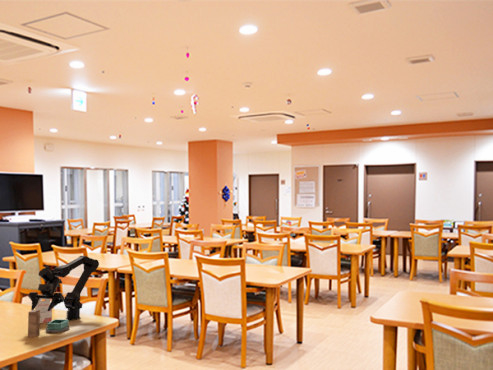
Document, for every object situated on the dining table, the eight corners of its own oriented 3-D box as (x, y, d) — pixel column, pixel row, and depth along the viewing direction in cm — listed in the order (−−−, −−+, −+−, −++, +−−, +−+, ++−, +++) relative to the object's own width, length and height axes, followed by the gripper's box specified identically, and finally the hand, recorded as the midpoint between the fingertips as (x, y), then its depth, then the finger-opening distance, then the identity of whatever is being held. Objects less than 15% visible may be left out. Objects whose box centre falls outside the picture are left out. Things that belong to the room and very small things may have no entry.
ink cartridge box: (52, 320, 251) (52, 295, 252) (50, 322, 247) (51, 297, 247) (36, 321, 249) (37, 296, 250) (34, 323, 244) (35, 298, 245)
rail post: (32, 334, 225) (33, 309, 225) (39, 334, 224) (40, 310, 225) (27, 336, 221) (28, 311, 221) (35, 337, 220) (35, 312, 221)
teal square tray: (53, 326, 240) (53, 318, 240) (73, 326, 239) (73, 318, 239) (41, 332, 228) (41, 324, 228) (62, 333, 227) (62, 324, 227)
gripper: (30, 277, 235) (17, 302, 224) (62, 278, 234) (51, 303, 222) (38, 288, 243) (26, 313, 231) (69, 289, 241) (58, 314, 230)
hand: (40, 310), depth 228 cm, fingers open, 9 cm apart
